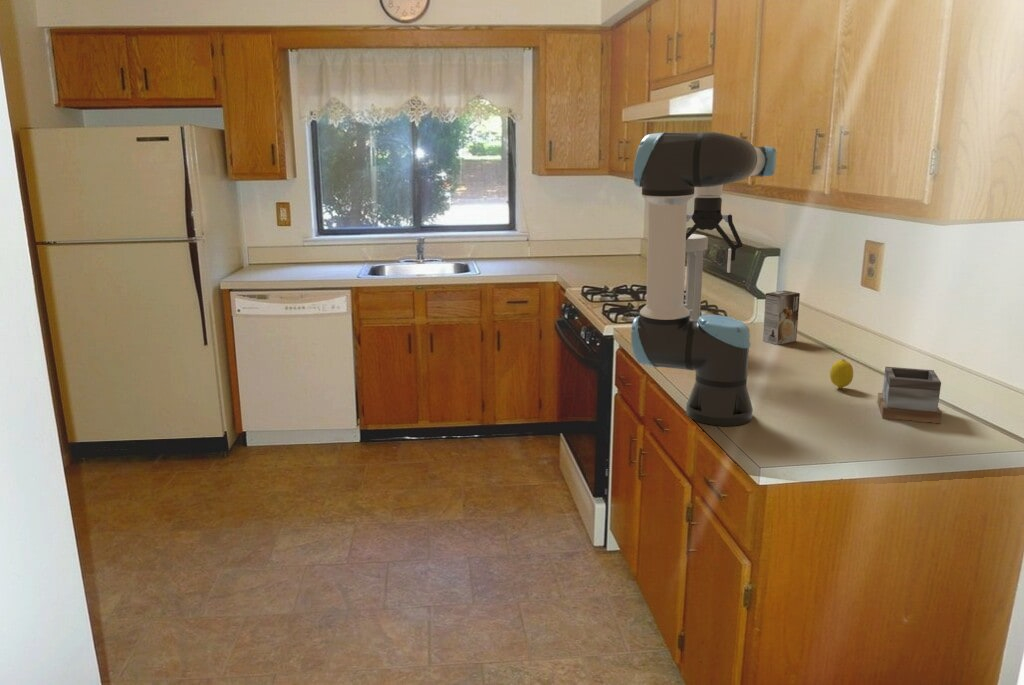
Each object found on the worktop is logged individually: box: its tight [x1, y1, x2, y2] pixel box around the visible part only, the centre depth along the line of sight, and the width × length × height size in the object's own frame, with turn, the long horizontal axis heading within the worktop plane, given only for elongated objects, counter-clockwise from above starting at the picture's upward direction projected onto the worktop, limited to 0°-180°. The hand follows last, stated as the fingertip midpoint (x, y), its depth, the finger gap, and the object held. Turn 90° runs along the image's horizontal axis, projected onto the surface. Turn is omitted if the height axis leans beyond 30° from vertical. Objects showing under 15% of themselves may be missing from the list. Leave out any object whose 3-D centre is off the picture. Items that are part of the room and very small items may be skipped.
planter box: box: [876, 366, 943, 424], centre depth 178 cm, size 12×12×10 cm
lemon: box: [829, 358, 854, 390], centre depth 197 cm, size 6×6×8 cm
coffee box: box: [762, 290, 801, 346], centre depth 245 cm, size 9×6×16 cm
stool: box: [683, 233, 709, 321], centre depth 239 cm, size 16×16×35 cm
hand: (704, 271), depth 219 cm, fingers open, 13 cm apart
